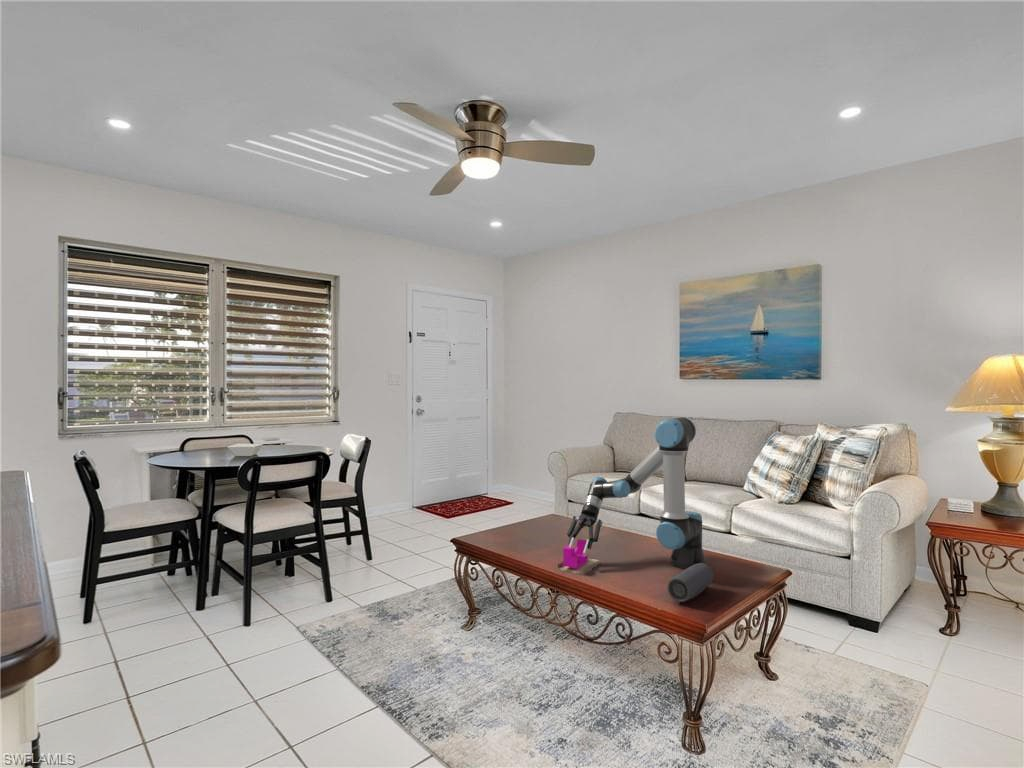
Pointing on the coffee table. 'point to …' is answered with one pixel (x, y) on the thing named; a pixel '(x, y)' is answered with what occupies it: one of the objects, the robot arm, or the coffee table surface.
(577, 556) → the toy block
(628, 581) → the coffee table surface
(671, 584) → the bluetooth speaker
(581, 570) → the board
